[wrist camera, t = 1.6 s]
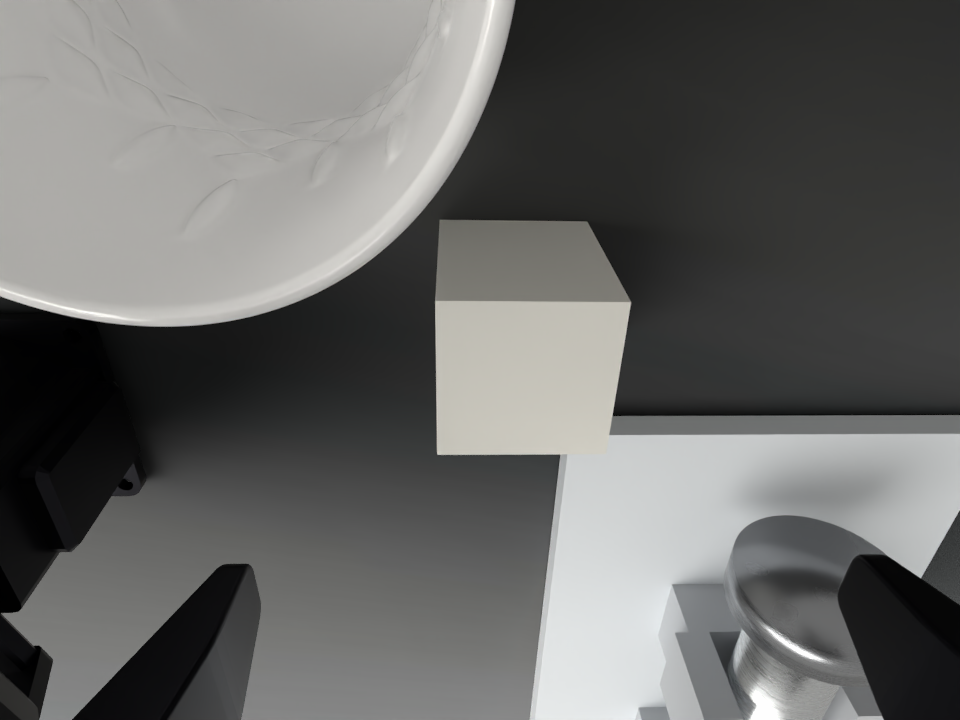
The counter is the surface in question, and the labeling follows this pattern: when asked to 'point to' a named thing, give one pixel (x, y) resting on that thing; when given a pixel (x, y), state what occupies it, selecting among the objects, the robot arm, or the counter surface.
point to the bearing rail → (714, 546)
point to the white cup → (225, 145)
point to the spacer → (526, 338)
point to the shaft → (791, 617)
